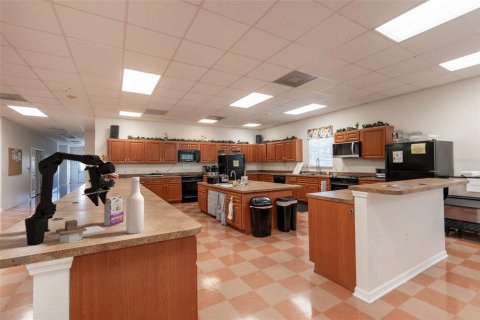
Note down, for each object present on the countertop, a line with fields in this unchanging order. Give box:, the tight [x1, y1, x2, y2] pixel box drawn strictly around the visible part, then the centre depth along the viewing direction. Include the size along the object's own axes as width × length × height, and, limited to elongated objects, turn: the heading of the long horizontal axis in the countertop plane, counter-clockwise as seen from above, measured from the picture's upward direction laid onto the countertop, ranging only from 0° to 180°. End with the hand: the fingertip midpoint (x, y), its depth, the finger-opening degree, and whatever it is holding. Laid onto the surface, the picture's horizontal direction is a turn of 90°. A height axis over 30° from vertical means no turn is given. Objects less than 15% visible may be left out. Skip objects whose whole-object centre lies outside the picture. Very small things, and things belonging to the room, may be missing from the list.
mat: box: [83, 224, 107, 236], centre depth 126 cm, size 14×12×1 cm
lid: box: [55, 219, 86, 236], centre depth 111 cm, size 10×10×5 cm
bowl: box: [57, 232, 84, 244], centre depth 111 cm, size 9×9×4 cm
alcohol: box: [125, 176, 145, 235], centre depth 124 cm, size 9×9×30 cm
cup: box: [24, 216, 47, 247], centre depth 105 cm, size 8×8×12 cm
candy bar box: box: [103, 195, 124, 227], centre depth 141 cm, size 11×5×16 cm, turn 168°
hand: (101, 205), depth 123 cm, fingers open, 9 cm apart
